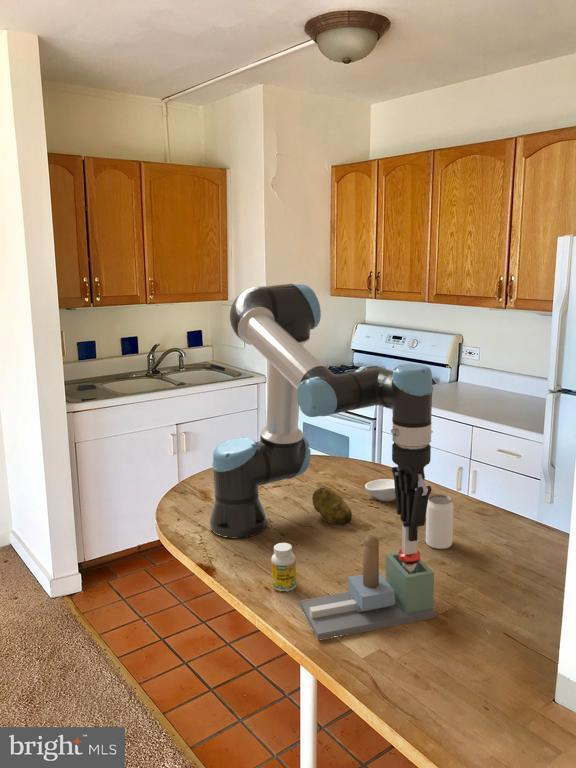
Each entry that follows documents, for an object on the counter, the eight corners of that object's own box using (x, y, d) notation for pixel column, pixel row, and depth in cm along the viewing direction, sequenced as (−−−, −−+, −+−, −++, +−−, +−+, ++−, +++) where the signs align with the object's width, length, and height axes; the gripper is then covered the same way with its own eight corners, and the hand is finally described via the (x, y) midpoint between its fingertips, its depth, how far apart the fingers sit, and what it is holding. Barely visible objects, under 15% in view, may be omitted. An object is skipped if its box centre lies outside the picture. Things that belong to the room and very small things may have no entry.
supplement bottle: (293, 578, 144) (292, 539, 142) (298, 590, 139) (297, 550, 137) (270, 581, 143) (268, 542, 141) (275, 594, 138) (273, 554, 136)
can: (452, 550, 155) (454, 505, 152) (425, 548, 156) (426, 503, 153) (451, 538, 161) (453, 494, 158) (425, 536, 162) (426, 493, 159)
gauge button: (394, 589, 134) (395, 549, 132) (413, 586, 135) (414, 546, 133) (403, 600, 130) (404, 560, 128) (423, 597, 131) (424, 556, 129)
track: (300, 607, 133) (299, 566, 131) (408, 587, 139) (409, 547, 137) (317, 640, 122) (316, 596, 120) (435, 617, 128) (436, 575, 126)
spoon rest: (357, 493, 191) (357, 471, 189) (391, 486, 196) (391, 464, 194) (401, 524, 170) (402, 499, 168) (438, 516, 174) (438, 491, 173)
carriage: (347, 596, 133) (347, 530, 130) (378, 591, 135) (379, 525, 132) (362, 618, 126) (362, 548, 122) (394, 611, 128) (395, 542, 124)
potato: (326, 531, 167) (325, 503, 165) (309, 512, 178) (308, 485, 177) (355, 526, 169) (355, 498, 167) (336, 507, 181) (335, 481, 179)
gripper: (380, 435, 130) (379, 541, 135) (408, 455, 118) (406, 570, 123) (413, 431, 132) (412, 535, 137) (445, 451, 120) (441, 564, 125)
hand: (409, 552), depth 130 cm, fingers closed
